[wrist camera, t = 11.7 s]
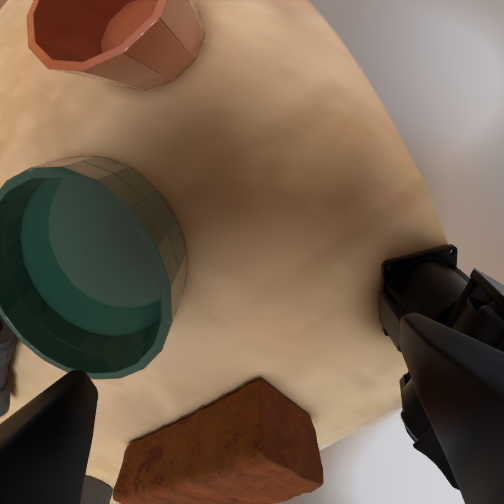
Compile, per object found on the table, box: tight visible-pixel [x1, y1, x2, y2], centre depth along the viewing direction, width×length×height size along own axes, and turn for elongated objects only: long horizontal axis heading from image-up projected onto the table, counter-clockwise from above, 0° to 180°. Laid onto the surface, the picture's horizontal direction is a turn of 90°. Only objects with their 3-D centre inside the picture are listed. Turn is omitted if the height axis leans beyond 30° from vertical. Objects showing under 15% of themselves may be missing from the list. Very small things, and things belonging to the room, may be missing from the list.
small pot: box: [27, 0, 204, 90], centre depth 12 cm, size 7×7×8 cm
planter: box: [0, 156, 187, 379], centre depth 18 cm, size 14×14×5 cm
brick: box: [113, 380, 323, 504], centre depth 24 cm, size 20×8×8 cm, turn 130°
